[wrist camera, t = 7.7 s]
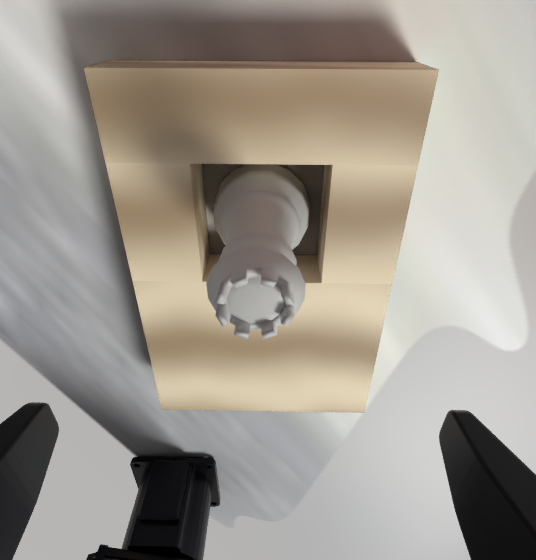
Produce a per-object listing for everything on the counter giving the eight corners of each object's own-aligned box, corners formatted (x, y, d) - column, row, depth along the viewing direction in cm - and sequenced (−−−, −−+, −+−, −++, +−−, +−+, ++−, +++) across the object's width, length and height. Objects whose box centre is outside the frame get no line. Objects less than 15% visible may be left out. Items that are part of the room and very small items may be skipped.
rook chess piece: (198, 216, 19) (157, 323, 13) (247, 138, 17) (228, 217, 10) (274, 260, 21) (274, 378, 14) (328, 192, 18) (357, 294, 12)
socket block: (356, 380, 25) (364, 412, 23) (171, 377, 26) (161, 409, 24) (416, 61, 15) (438, 69, 13) (109, 60, 16) (83, 67, 13)
